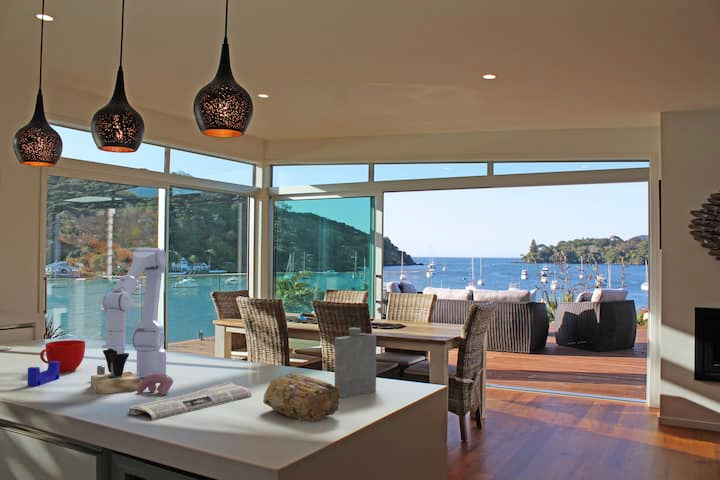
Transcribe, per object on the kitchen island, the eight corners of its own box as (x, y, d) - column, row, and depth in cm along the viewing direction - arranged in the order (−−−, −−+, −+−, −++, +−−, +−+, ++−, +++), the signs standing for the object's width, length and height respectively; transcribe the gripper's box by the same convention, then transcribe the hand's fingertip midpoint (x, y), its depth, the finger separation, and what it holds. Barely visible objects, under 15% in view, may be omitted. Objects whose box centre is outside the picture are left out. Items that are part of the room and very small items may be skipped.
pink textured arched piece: (170, 398, 190) (177, 376, 193) (162, 394, 186) (169, 371, 189) (143, 396, 193) (149, 373, 196) (134, 392, 189) (141, 369, 192)
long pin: (118, 387, 198) (118, 361, 198) (119, 388, 196) (119, 362, 196) (109, 387, 197) (110, 362, 197) (111, 389, 195) (111, 363, 195)
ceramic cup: (26, 374, 217) (27, 345, 217) (66, 366, 233) (66, 339, 233) (54, 377, 212) (55, 348, 212) (93, 369, 228) (93, 341, 228)
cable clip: (46, 379, 211) (47, 361, 211) (59, 379, 210) (59, 361, 210) (23, 386, 199) (23, 367, 199) (36, 387, 198) (36, 368, 199)
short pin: (104, 378, 211) (104, 365, 211) (105, 379, 209) (105, 366, 209) (96, 379, 210) (96, 365, 210) (97, 380, 208) (97, 366, 208)
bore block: (130, 382, 205) (130, 371, 205) (139, 389, 195) (139, 378, 195) (90, 386, 198) (91, 375, 198) (98, 394, 188) (99, 382, 188)
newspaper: (151, 422, 159) (152, 408, 160) (124, 414, 167) (124, 401, 167) (254, 397, 187) (255, 385, 187) (227, 391, 195) (227, 379, 195)
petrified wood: (346, 416, 163) (341, 379, 162) (306, 436, 155) (300, 398, 153) (302, 400, 178) (297, 366, 176) (264, 417, 170) (258, 382, 168)
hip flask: (339, 399, 183) (339, 330, 184) (330, 396, 186) (330, 329, 187) (378, 391, 194) (378, 326, 195) (368, 389, 197) (369, 325, 198)
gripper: (97, 328, 201) (96, 371, 200) (107, 333, 189) (106, 379, 188) (120, 327, 205) (119, 369, 204) (131, 332, 193) (131, 376, 192)
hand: (115, 373), depth 197 cm, fingers open, 7 cm apart
